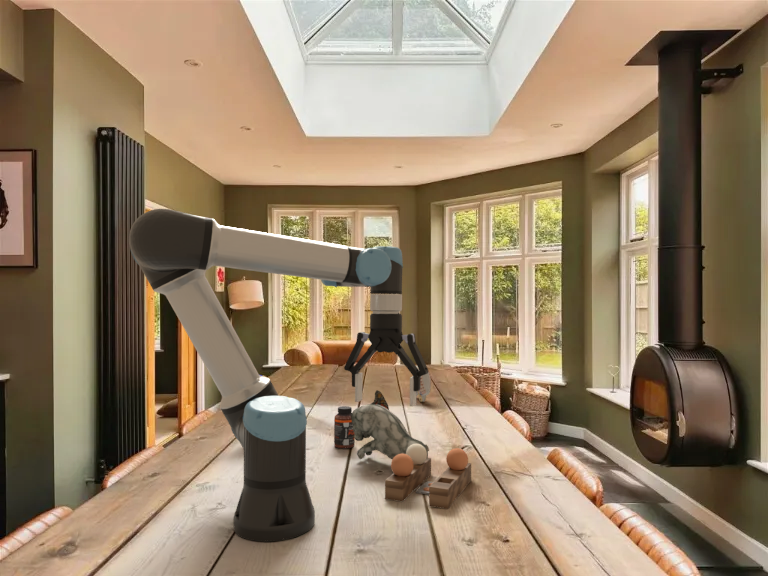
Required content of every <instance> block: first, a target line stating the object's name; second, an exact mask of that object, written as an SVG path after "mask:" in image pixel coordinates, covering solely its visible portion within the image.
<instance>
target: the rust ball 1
mask: <svg viewBox="0 0 768 576" xmlns="http://www.w3.org/2000/svg"><path fill="white" fill-rule="evenodd" d="M390 462H391V463H390V468H391V471H392V472H393V473H392V474H395V475H397V476H400V477H406V476H408V475H410V474H411V472H412V470H413V467H414V464H413V460H412V459H411V457H410V456H408V455H407V454H398V455H396V456H395V457H394V458H393V460H392V459H391V461H390Z"/></svg>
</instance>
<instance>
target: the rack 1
mask: <svg viewBox="0 0 768 576" xmlns="http://www.w3.org/2000/svg"><path fill="white" fill-rule="evenodd" d="M430 476H432V458H431V457H428V458H426V460H425V462H424V463H423V464H421V465H414V467H413V470H412V472H411V474H410V475H408V476H406V477H400V476H397V475H395V474H394V473H392V474H390V476H388V477H387V478H386V479H384V499H385V500H390V501H397V502H400V503H402V502H403V501H405V500H406V499H408V498H409V496H411V494H412V493H413V492H414V491H416V490H417V489H418V488H419V487H420V486H422V485H423V484H424V483H425V482H426V481H427V479H428V478H430Z"/></svg>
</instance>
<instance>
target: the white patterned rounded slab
mask: <svg viewBox="0 0 768 576" xmlns="http://www.w3.org/2000/svg"><path fill="white" fill-rule="evenodd" d="M416 367H417V368H418V366H417V365H416ZM418 369H419V368H418ZM428 371H429V369H428ZM431 389H432V379H431V373H430V371H429V372H428V373H427V374H425V375H422V376H421V378H420V391H416V397H418V400H419V402H420V403H425V401H426V399H427V396H428V395H430V393H431Z"/></svg>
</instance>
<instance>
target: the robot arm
mask: <svg viewBox="0 0 768 576" xmlns="http://www.w3.org/2000/svg"><path fill="white" fill-rule="evenodd" d="M128 236H129V237H128V243H129V249H130V253H131V256H132V258H133V260H134V261H135V263H136V264H137V265H138V266H139V268H140V269H141V272H142V273H143V275H144V276H145V277H146V280H147V282H148V284H149V285H150V287H151V288H152V290H153V292H155V293H158V294H161V295H164V296H165V297H166V299H167V300H168V302H169V304H170V306H171V308H172V310H173V311H174V313H175V315H176V316H177V318H178V320H179V322H180V324H181V325H182V327H183V329H184V332H186V334H187V336H188V338H189V340H190V342H191V343H192V345H193V347H194V348H195V351H196V352H197V354H198V356H199V358H200V359H201V361H202V363H203V364H204V367H205V368H206V369H207V372H208V373H209V376H210V377H211V379H212V380H213V382H214V384H215V386H216V388H217V390H218V391H219V392H220V395H221V399H220V403H219V408H220V411H221V412H222V414H223V415H224V417H225V419H226V421H227V423H228V425H229V427H230V429H231V432H232V434H233V435H234V437H235V438H236V440H238V442H239V443H240V445H241V447H242V448H243V449H242V450H243V488H242V490H241V492H240V493H241V494H240V496H239V498H238V502H237V505H236V508H235V512H234V515H233V531H234V532H235V534H236V535H238V536H239V537H241V538H242V539H246V540H250V541H254V542H277V541H278V542H279V541H284V540H289V539H293V538H296V537H299V536H301V535H304V534H306V533H307V532H309V531H310V530H311V529H312V528H313V527H314V526H315V521H316V520H315V519H316V518H315V517H316V515H315V514H316V512H315V511H316V510H315V507H314V505H313V502H312V498H311V495H310V491H309V488H308V485H307V481H306V474H307V473H306V468H307V467H306V464H307V463H306V462H307V461H306V460H307V459H306V458H307V457H306V454H307V453H306V451H307V448H306V447H307V444H306V443H307V442H306V441H307V425H308V424H307V423H308V418H307V415H306V414H307V413H306V408H305V405H304V403H303V402H301V401H300V400H298V399H297V398H294V397H288V396H285V395H279V393H278V392H277V389H276V388H275V386H274V385H273V382H272V381H271V379H270V378H269V377H267V376H264V375H262V376H260V375H261V374H259V372H258V370H257V368H256V367H255V365H254V363H253V361H252V359H251V357H250V356H249V354H248V352H247V351H246V348H245V346H244V344H243V343H242V341H241V339H240V337H239V335H238V334H237V332H236V330H235V328H234V327H233V324H232V322H231V320H229V317H228V316H227V313H226V312H225V309H224V308H223V306H222V305H221V303H220V301H219V299H218V297H217V295H216V294H215V292H214V289H213V288H212V286H211V283H210V282H209V280H208V278H207V277H206V274H207V271H208V270H210V269H211V268H212V267H222V268H228V269H229V268H230V269H236V270H245V271H254V272H259V273H260V272H261V273H267V274H276V275H284V276H290V277H291V276H292V277H297V278H304V279H313V280H314V279H315V280H319V281H321V283H322V284H323V285H324V286H325V287H335V288H338V287H340V288H341V287H342V288H344V287H345V288H346V287H347V288H351V287H352V288H355V287H356V288H357V287H358V288H359V287H361V288H363V287H364V288H370V291H369V292H370V294H369V295H370V298H369V299H370V302H369V304H370V305H369V310H370V311H371V312H372V313H370V314H369V332H368V333H366V332H365V331H360V332H357V334H356V342H355V344H354V346H353V348H352V350H351V352H350V354H349V357H348V358H347V361H346V363H345V365H344V366H343V367H344V368H343V369H344V371H348V372H350V373H351V387H352V388H354V402H356V403H358V402H361V401H363V373H364V372H361V370H362V369H363V367H364V366H365V365H366V364H367V363H368V362H369V360H370V359H371V358H372V357H373V355H375V353H377V352H378V353H383V352H384V353H390V354H391V353H394V354H395V355H396V356H397V357H398V358H399V360H400V361H401V362H402V363H403V365H404V366H405V367H406V369H407V370H408V371H409V373H410V374H411V375H412V376H411V377H409V407H414V406H416V405H417V396H416V391H420V378H421V376H422V375H425V374H427V373H428V372H429V373H430V371H428V370H429V368H428V367H427V364H426V362H425V360H424V357H423V356H422V354H421V351H420V349H419V347H418V344H417V342H416V334H415V333H408V334H403V315H402V313H400V312H402V310H403V268H404V264H403V262H404V261H403V252H402V249H401V248H399V247H398V246H388V245H387V246H384V245H382V246H373V247H366V248H362V247H357V246H349V245H342V244H338V243H331V242H324V241H319V240H312V239H306V238H299V237H294V236H288V235H282V234H276V233H275V234H274V233H270V232H268V233H267V232H264V231H263V232H262V231H257V230H251V229H250V230H249V229H245V228H237V227H232V226H225V225H220V224H219V223H218V222H217V221H216V220H215V219H214V218H211V217H206V216H199V215H195V214H190V213H187V212H182V211H180V210H179V211H178V210H174V209H170V208H157V209H151V210H148V211H146V212H145V213H143V214H141V215H139V216H138V217H137V218H136V219H135V221H134V222H133V224H132V225H131V228H130V231H129V235H128ZM368 340H369V342H370V343H371V344H370V345H369V347H368V348H367V349H366V350H365V351H366V352H364V354H363V355H362V356H361V357H360V358H359V356H360V354H361V351H362V349H363V348H364V345H365V342H367V341H368ZM403 341H404V342H405V343H406V344H407V346H408V348H409V351H410V353H411V356H412V358H413V359H414V361H415V363H414V361H413V360H412V359H411V358H410V356H409V355H408V354H407V352H406V351H405V348H404V347H403V346H402V345H401V343H402V342H403ZM358 358H359V360H358V361H357V359H358ZM416 366H418V368H419V369H418V368H417V367H416Z"/></svg>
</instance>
